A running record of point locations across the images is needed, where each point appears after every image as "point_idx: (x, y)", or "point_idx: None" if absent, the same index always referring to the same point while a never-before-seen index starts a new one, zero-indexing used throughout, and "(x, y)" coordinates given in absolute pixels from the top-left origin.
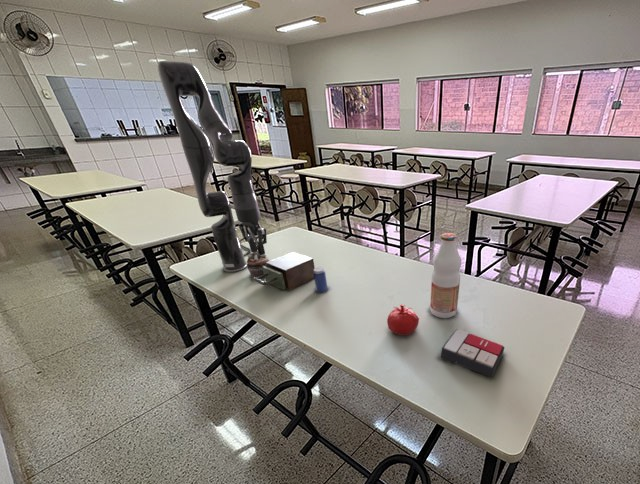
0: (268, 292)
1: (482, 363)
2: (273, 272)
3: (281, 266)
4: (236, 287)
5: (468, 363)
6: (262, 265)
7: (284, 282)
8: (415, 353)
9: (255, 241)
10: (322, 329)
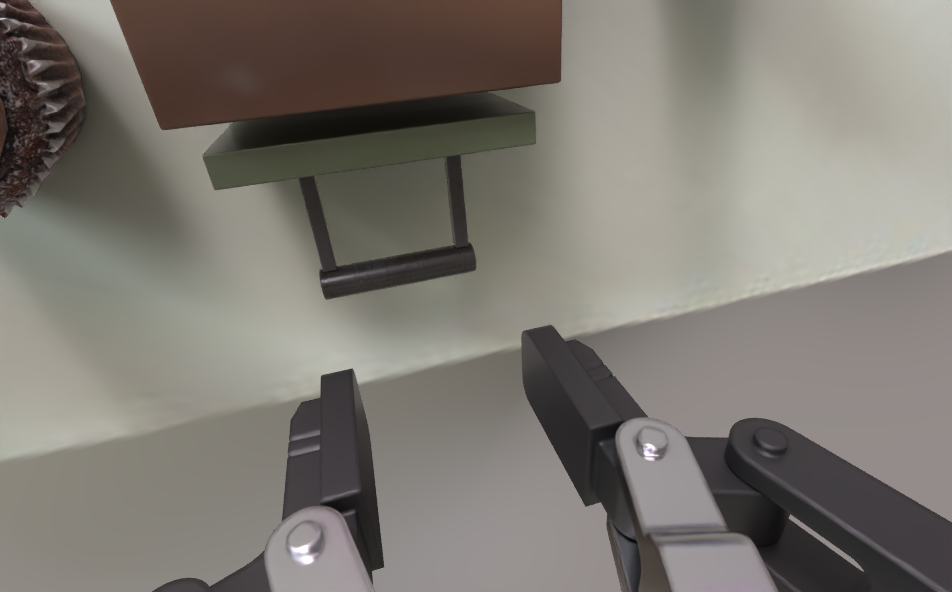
0: (399, 194)
1: None
2: (427, 156)
3: (440, 51)
4: (152, 326)
5: None
6: (4, 94)
7: (502, 98)
8: None
9: (638, 584)
10: (895, 176)
